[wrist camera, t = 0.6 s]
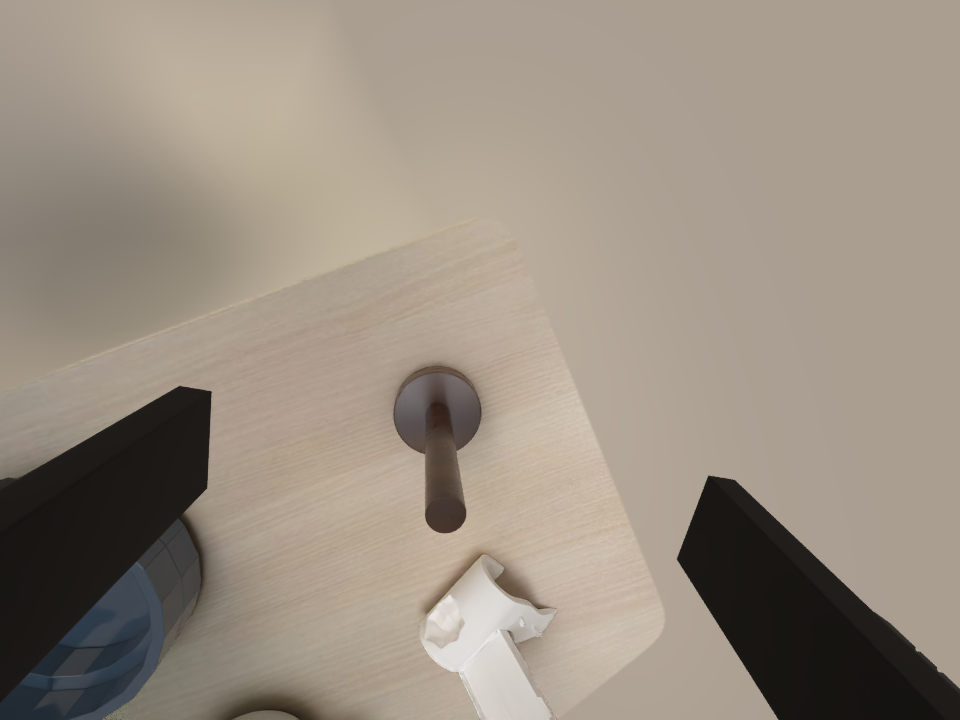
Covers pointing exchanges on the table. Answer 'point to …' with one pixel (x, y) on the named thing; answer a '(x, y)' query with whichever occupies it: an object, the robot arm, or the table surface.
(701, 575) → the robot arm
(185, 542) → the mixing bowl
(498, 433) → the table surface
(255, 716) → the teacup
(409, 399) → the wooden stand
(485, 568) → the plastic part
